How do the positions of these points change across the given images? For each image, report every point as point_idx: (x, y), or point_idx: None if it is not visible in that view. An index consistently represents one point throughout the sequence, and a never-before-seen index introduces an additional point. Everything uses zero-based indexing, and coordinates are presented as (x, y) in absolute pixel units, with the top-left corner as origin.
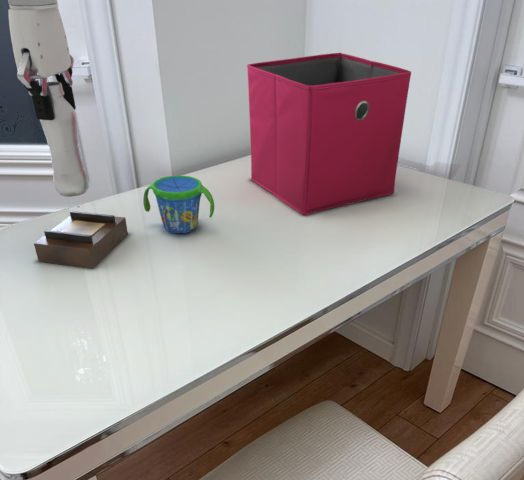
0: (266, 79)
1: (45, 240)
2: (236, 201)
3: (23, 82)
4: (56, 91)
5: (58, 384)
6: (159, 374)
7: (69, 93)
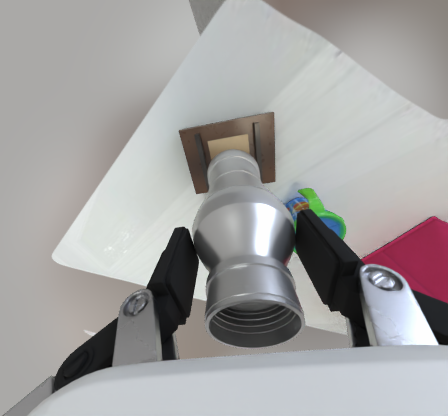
0: None
1: (190, 138)
2: (367, 225)
3: (37, 396)
4: (233, 321)
5: (94, 245)
6: (135, 274)
7: (314, 286)
